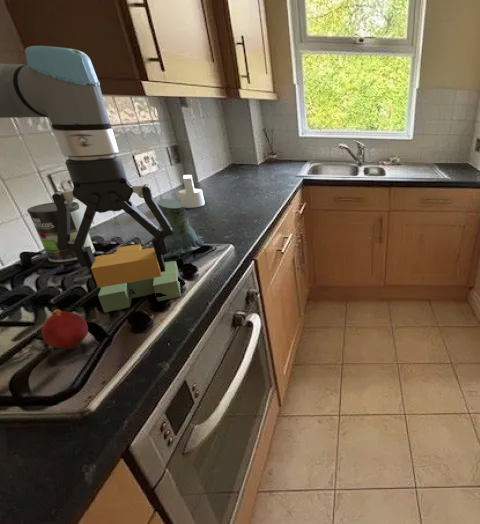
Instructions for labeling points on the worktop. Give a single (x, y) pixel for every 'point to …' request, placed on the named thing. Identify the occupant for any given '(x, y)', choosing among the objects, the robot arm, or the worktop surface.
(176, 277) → the green notched block
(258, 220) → the worktop surface
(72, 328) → the onion
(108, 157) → the robot arm
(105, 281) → the ochre pad
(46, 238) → the coffee can
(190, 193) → the base with upright slab
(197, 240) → the tree stump
